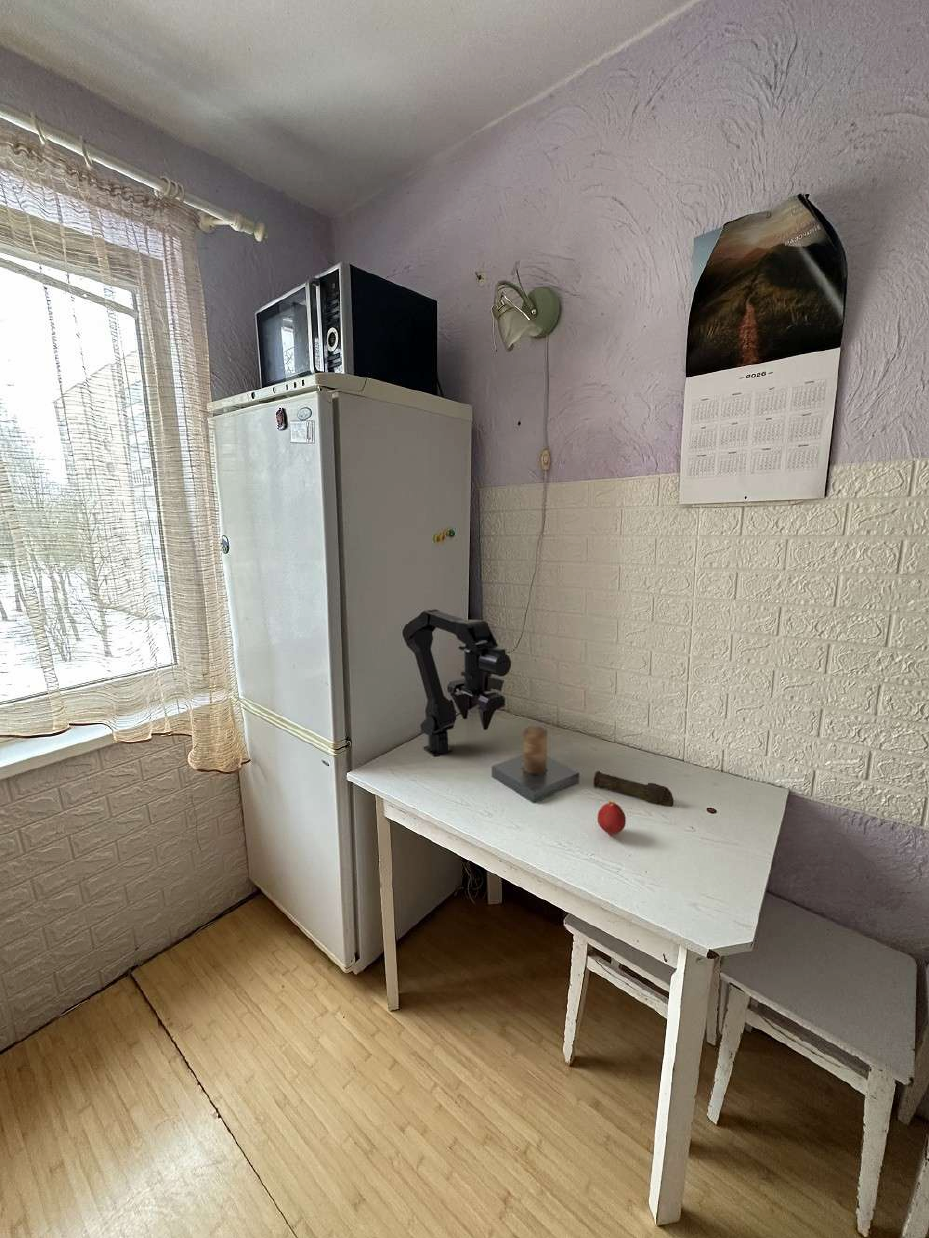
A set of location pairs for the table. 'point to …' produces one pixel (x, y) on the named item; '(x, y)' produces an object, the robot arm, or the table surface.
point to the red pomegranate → (611, 818)
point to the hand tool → (635, 789)
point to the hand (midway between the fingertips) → (475, 724)
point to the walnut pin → (535, 750)
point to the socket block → (535, 778)
